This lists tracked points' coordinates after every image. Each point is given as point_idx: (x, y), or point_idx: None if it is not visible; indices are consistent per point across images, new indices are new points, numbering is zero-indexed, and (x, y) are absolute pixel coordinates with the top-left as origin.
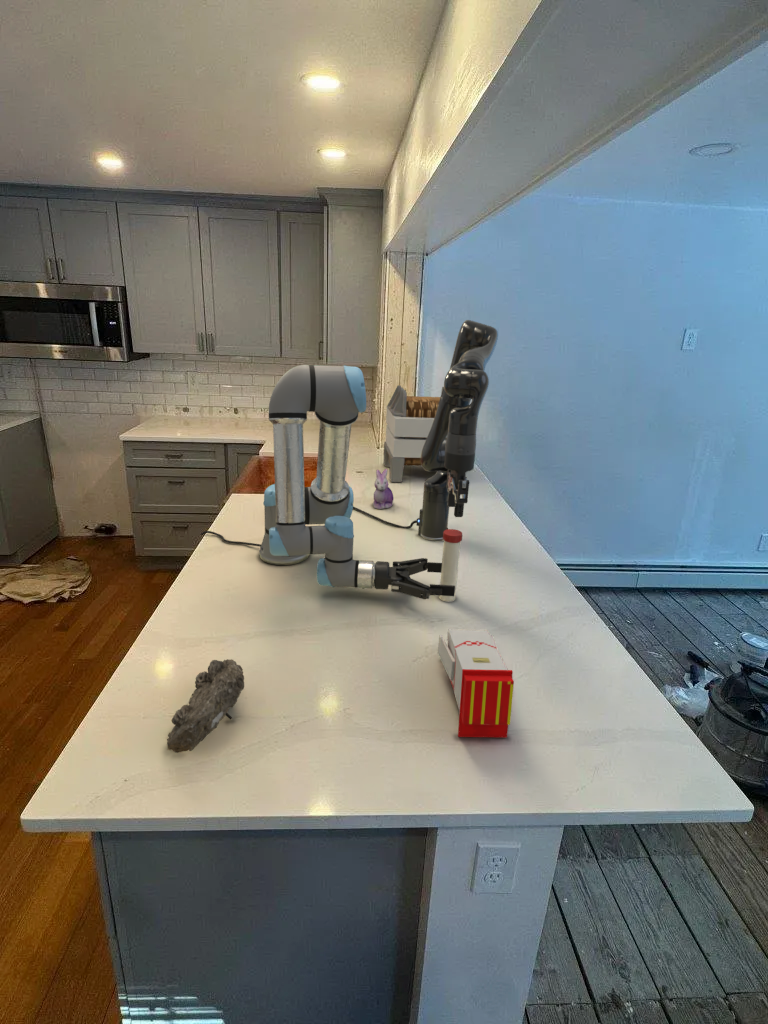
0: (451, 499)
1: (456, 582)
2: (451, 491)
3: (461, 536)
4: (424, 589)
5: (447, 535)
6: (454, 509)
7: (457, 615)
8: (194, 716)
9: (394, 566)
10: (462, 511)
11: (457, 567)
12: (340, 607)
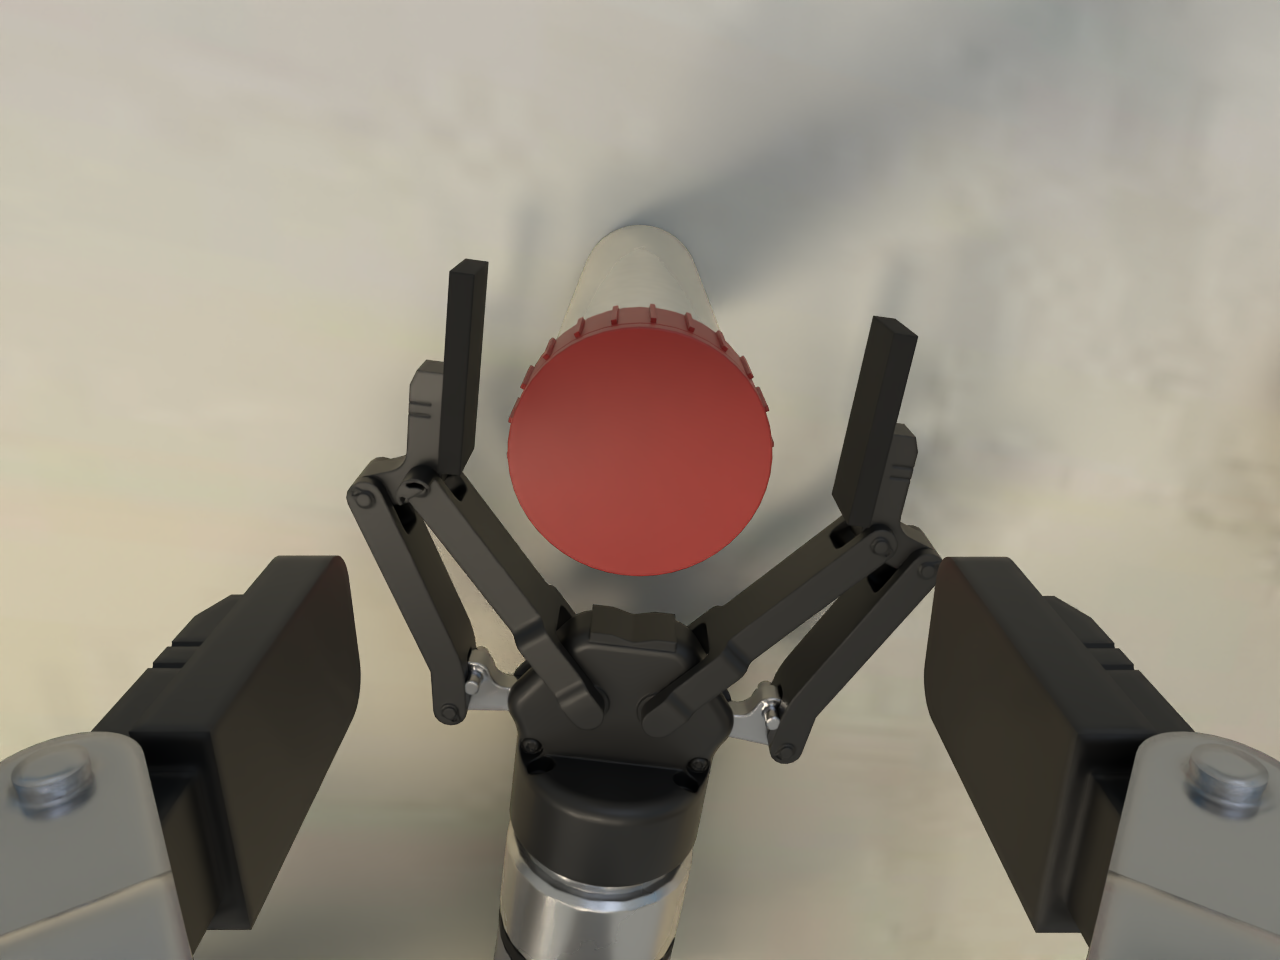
0: (300, 748)
1: (669, 248)
2: (192, 929)
3: (727, 348)
4: (928, 576)
5: (726, 543)
6: (983, 797)
7: (886, 262)
8: None
9: (484, 704)
10: (1120, 652)
11: (689, 279)
12: (728, 876)
